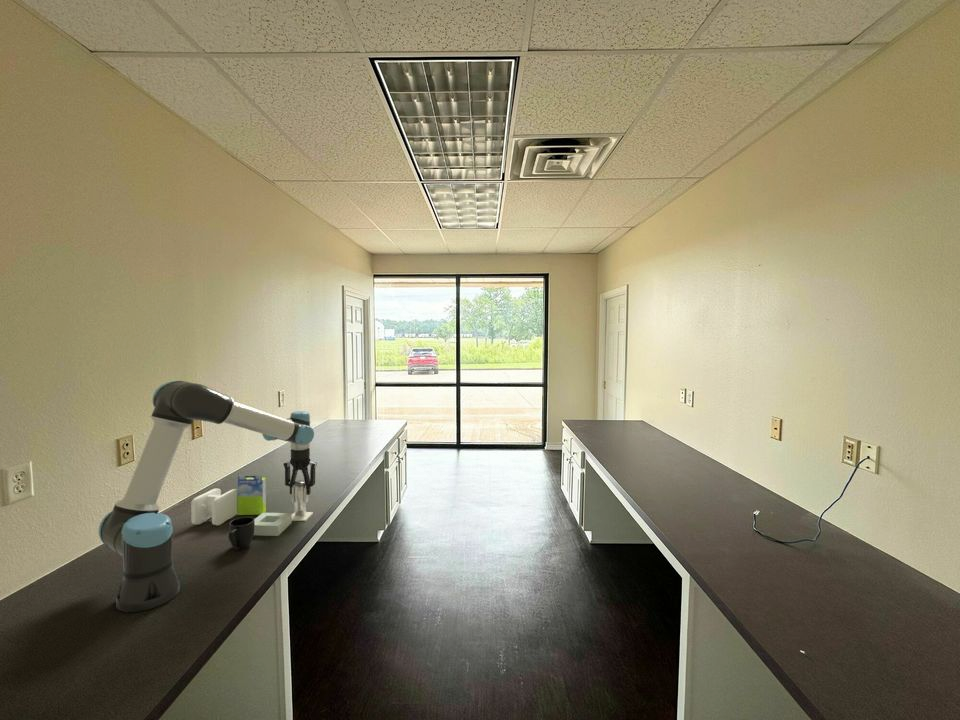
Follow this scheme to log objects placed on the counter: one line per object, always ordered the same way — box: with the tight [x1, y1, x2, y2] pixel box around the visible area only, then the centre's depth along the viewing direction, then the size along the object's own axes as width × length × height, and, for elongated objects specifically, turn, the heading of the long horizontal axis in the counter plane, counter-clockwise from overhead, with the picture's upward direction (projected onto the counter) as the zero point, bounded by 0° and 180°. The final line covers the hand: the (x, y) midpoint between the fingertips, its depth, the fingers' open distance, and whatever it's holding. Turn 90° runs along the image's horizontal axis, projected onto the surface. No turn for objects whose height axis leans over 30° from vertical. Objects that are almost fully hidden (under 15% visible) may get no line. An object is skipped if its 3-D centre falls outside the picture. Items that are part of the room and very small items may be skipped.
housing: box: [253, 512, 293, 537], centre depth 178 cm, size 12×12×4 cm
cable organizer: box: [190, 488, 238, 526], centre depth 184 cm, size 15×11×12 cm
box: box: [237, 475, 267, 516], centre depth 192 cm, size 10×4×17 cm, turn 97°
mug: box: [228, 516, 255, 551], centre depth 161 cm, size 8×12×10 cm
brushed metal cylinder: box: [293, 479, 307, 516], centre depth 189 cm, size 5×5×14 cm
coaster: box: [292, 511, 314, 522], centre depth 190 cm, size 8×8×1 cm
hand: (300, 501), depth 189 cm, fingers closed on brushed metal cylinder, 5 cm apart
